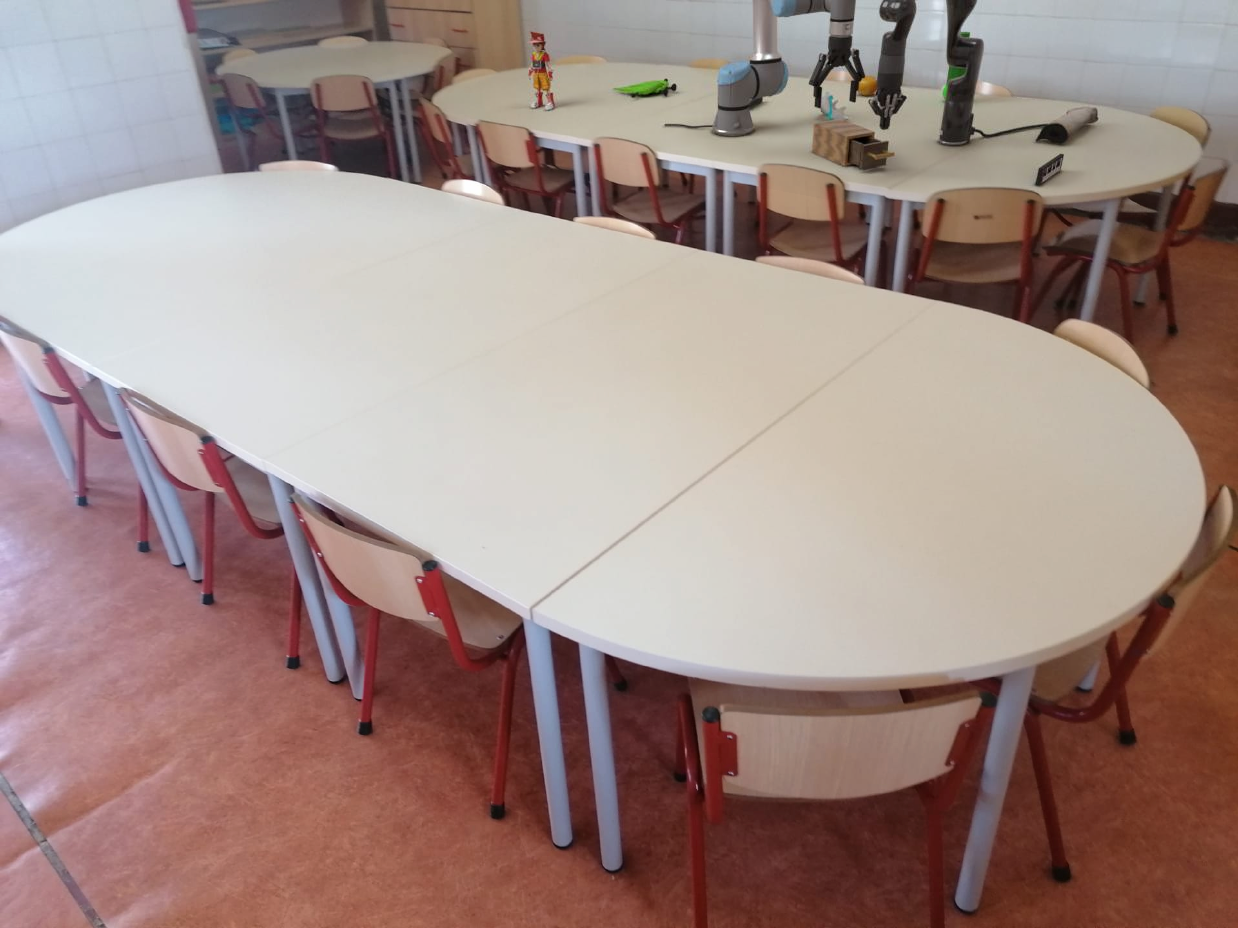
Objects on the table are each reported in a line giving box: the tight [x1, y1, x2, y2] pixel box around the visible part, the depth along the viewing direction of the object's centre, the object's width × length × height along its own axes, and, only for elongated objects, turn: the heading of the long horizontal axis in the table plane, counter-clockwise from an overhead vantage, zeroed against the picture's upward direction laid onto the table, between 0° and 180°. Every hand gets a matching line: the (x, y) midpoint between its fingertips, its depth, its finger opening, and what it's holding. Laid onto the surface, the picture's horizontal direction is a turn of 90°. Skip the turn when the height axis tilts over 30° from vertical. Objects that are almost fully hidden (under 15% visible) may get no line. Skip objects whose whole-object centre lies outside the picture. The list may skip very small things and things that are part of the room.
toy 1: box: [527, 31, 556, 111], centre depth 374 cm, size 12×9×30 cm
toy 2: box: [612, 78, 677, 99], centre depth 396 cm, size 28×5×30 cm
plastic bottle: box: [942, 31, 971, 100], centre depth 348 cm, size 10×10×25 cm
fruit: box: [857, 75, 877, 96], centre depth 370 cm, size 8×8×8 cm
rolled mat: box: [1035, 106, 1099, 146], centre depth 310 cm, size 30×9×10 cm
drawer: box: [847, 136, 896, 171], centre depth 292 cm, size 24×9×8 cm, turn 22°
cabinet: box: [811, 119, 876, 167], centre depth 301 cm, size 20×11×10 cm, turn 22°
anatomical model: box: [819, 91, 851, 121], centre depth 342 cm, size 15×10×10 cm
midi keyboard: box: [1035, 153, 1065, 186], centre depth 273 cm, size 18×1×5 cm, turn 138°
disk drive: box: [749, 97, 764, 110], centre depth 367 cm, size 10×3×15 cm
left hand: (835, 104), depth 300 cm, fingers open, 13 cm apart
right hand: (884, 129), depth 279 cm, fingers closed
